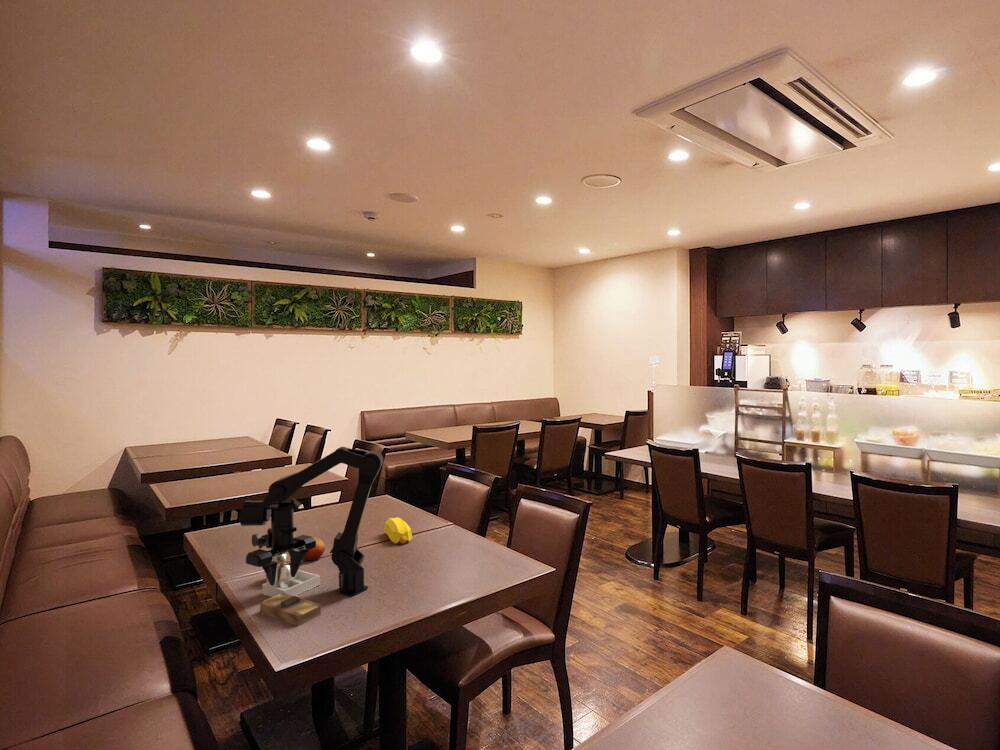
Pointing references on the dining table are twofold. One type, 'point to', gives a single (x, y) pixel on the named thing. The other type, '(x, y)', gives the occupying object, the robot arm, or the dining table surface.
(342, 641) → the dining table surface
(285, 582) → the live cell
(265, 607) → the cradle
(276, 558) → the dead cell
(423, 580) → the dining table surface
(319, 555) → the fruit
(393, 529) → the yellow lump
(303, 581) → the trough tray
